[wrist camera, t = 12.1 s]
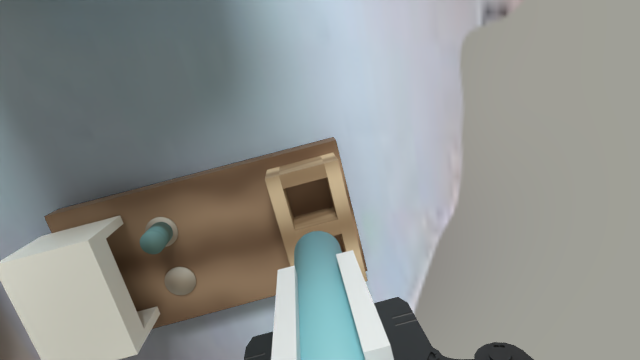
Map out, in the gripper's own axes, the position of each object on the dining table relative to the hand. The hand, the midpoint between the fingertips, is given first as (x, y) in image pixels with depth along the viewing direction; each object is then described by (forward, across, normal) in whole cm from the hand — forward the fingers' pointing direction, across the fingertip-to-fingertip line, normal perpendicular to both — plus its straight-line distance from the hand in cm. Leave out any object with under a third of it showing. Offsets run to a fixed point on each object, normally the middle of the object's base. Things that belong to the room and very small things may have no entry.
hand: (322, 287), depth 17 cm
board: (+20, -9, -3) cm, 22 cm away
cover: (+18, -20, -3) cm, 27 cm away
